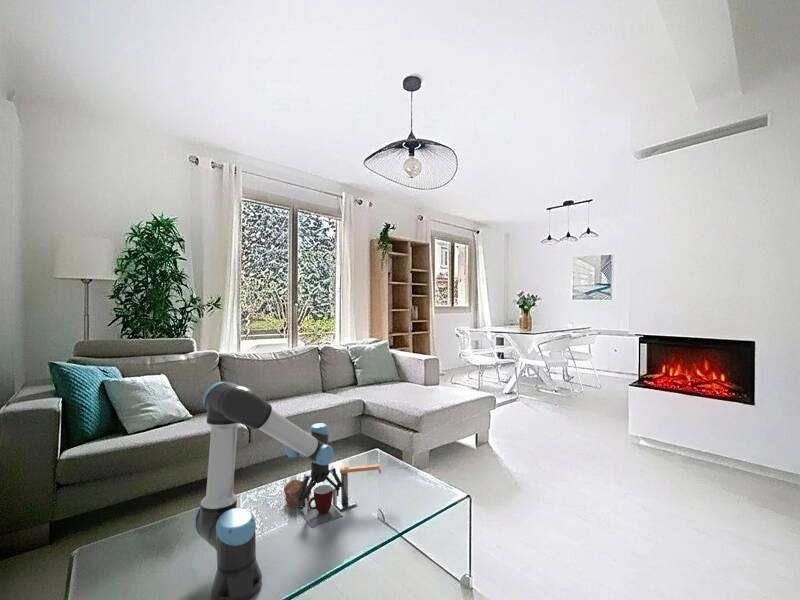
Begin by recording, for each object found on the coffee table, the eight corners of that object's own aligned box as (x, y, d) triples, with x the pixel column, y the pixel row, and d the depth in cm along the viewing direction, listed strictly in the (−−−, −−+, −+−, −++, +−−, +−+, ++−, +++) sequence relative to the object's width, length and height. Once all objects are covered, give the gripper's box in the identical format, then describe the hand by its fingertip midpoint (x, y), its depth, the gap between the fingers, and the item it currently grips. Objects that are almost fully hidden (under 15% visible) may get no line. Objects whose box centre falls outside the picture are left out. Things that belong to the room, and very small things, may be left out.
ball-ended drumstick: (381, 474, 176) (381, 466, 176) (340, 478, 173) (339, 471, 173) (379, 470, 180) (379, 463, 180) (339, 474, 177) (339, 467, 177)
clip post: (340, 511, 170) (340, 478, 170) (333, 503, 176) (332, 472, 176) (356, 505, 174) (356, 473, 174) (348, 498, 181) (348, 467, 181)
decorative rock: (280, 502, 179) (279, 480, 178) (302, 493, 186) (301, 472, 186) (292, 513, 169) (292, 491, 169) (315, 504, 176) (315, 482, 176)
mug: (313, 521, 162) (312, 498, 162) (305, 512, 168) (305, 490, 168) (336, 513, 168) (335, 490, 168) (328, 505, 174) (328, 483, 174)
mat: (311, 528, 158) (311, 527, 158) (299, 512, 170) (299, 511, 170) (342, 516, 166) (342, 515, 166) (329, 502, 178) (329, 501, 178)
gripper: (294, 470, 157) (295, 522, 158) (349, 456, 171) (350, 503, 172) (288, 464, 164) (289, 514, 164) (342, 450, 178) (342, 496, 178)
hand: (320, 508), depth 168 cm, fingers open, 13 cm apart
